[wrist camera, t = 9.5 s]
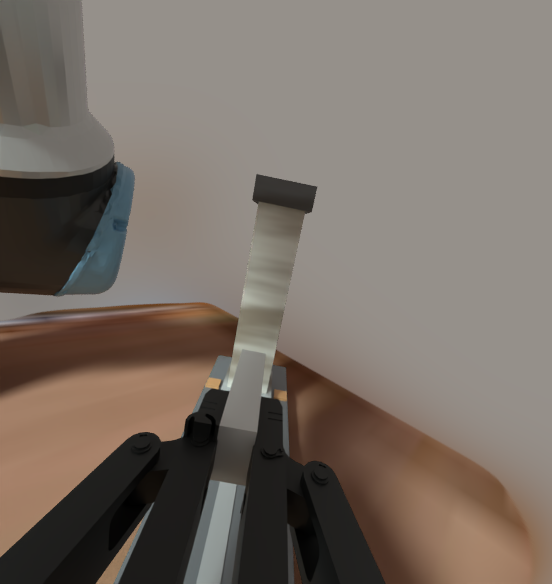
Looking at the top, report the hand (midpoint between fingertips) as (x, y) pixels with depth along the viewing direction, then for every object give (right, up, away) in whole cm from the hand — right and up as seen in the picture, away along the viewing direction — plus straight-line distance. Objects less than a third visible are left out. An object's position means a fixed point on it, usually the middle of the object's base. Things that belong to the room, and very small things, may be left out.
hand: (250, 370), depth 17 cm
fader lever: (-2, -6, +13) cm, 14 cm away
